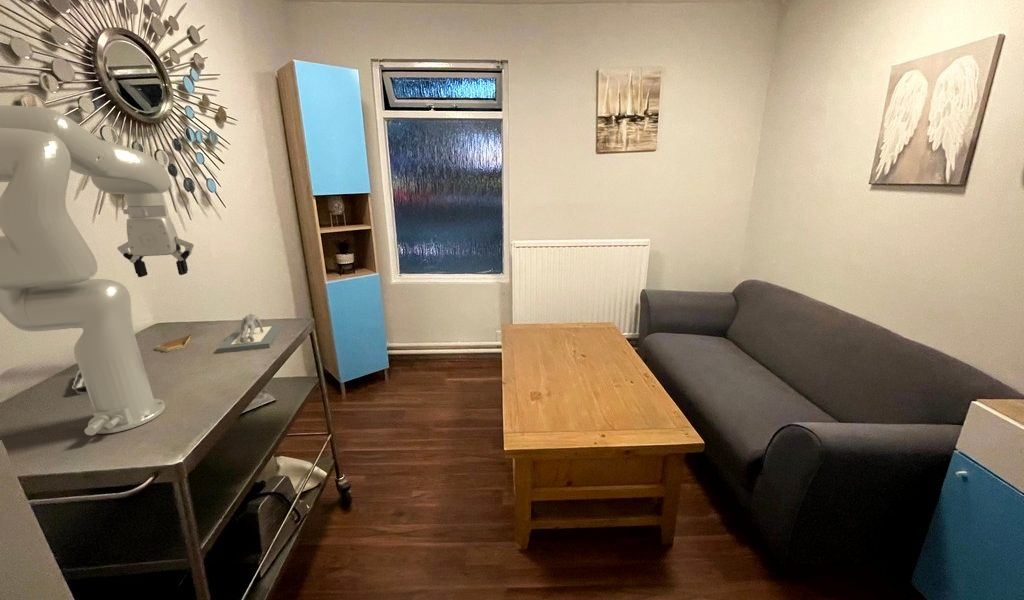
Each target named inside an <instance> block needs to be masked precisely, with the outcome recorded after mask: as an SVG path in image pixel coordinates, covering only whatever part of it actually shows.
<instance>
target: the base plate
mask: <svg viewBox="0 0 1024 600" xmlns="http://www.w3.org/2000/svg"><path fill="white" fill-rule="evenodd" d="M282 328H283V329H284V325H283V324H282V323H281V324H279V323H278V324H270V325H269V324H268V325H262V329H263V333H261V332H260V327H259V326H258V325H257V326H256V325H255V330H254V334H253V338H254V341H253V342H252V341H250V339H249V338H248V336H249V332H250V329H249V328H248V332H247V333H246V335H245V339H244V340H245V342H242V343H241V342H240V338H241V327H237V328H236V329H235V330H234V331H232V333H231V334H230V335H229V336H228V337H227V338H226V339H225V340H224V341H223V342H222V343H221V344H220V345H219V346H218V347H217V348H216V349H217V353H218V354H223V353H224V352H225V353H233V352H234V353H235V352H243V350H244V351H252V350H251V349H254V350H260V349H259V348H263V349H270V348H271V347H272V346H273V344H274V342H275V341H276V339H277V338H278V336H279V335H278V333H279V332H280V331H281V329H282ZM283 329H282V330H283ZM281 332H282V331H281ZM281 332H280V333H281ZM280 333H279V334H280ZM277 335H278V336H277ZM276 337H277V338H276ZM275 338H276V339H275ZM274 340H275V341H274ZM273 341H274V342H273ZM272 343H273V344H272ZM270 346H271V347H270Z"/></svg>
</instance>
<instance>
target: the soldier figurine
mask: <svg viewBox="0 0 1024 600" xmlns="http://www.w3.org/2000/svg"><path fill="white" fill-rule="evenodd" d="M255 323H257V326H259V327H260V332H261V333H263V329H262V326H263V325H262V322H261V320H260V318H259V317H258V316H256V315H255V314H254V313H250V314H247V315H246V316H245V317H243V318H242V320H241V324H240V328H241V338H240V342H241V343H242V342H245V340H244V339H245V335H246V333H247V332H248V328H249V329H250V332H249V336H248V338H249V339H250V341H252V342H253V341H254V338H253V334H254V330H255V327H256V324H255Z"/></svg>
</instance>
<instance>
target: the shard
mask: <svg viewBox="0 0 1024 600" xmlns="http://www.w3.org/2000/svg"><path fill="white" fill-rule="evenodd" d="M191 336H192V334H189V335H184V336H183V337H178V338H176V339H173V340H169V341H167V342H164V343H161V344H158V345H156V346H155V347H154V349H155V350H156V351H161V352H165V353H168V351H169V352H171V350H172V351H176V350H175V349H177V350H181V349H180V348H182V349H185V348H186V346H187V344H188V343H189V342H190V341H191V339H190V337H191ZM189 340H190V341H189Z"/></svg>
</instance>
